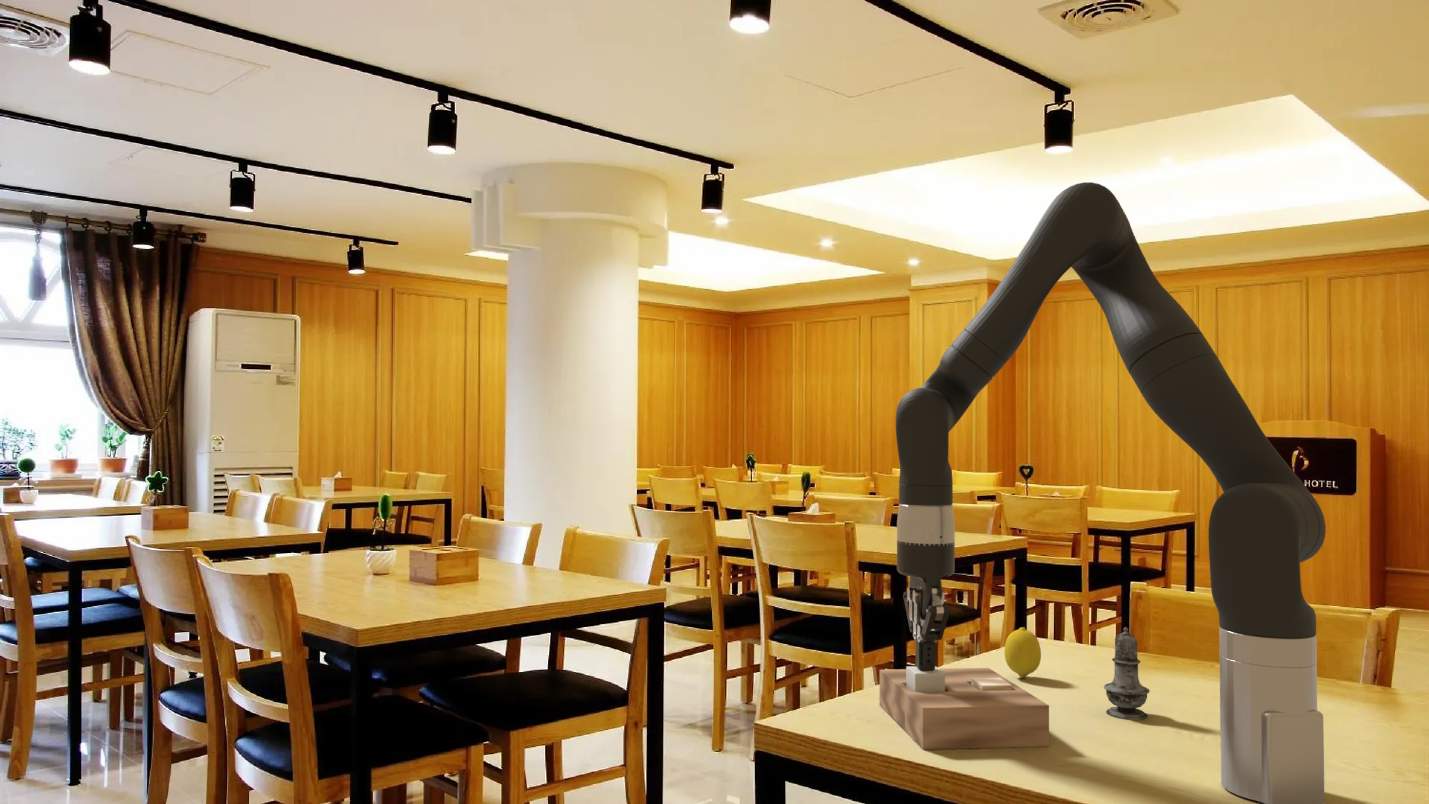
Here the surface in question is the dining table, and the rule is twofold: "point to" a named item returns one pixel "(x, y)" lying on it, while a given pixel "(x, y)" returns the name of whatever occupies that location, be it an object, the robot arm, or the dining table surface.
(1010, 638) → the lemon
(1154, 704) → the dining table surface
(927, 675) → the peg
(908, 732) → the socket board
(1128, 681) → the salt shaker
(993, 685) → the peg
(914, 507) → the robot arm
